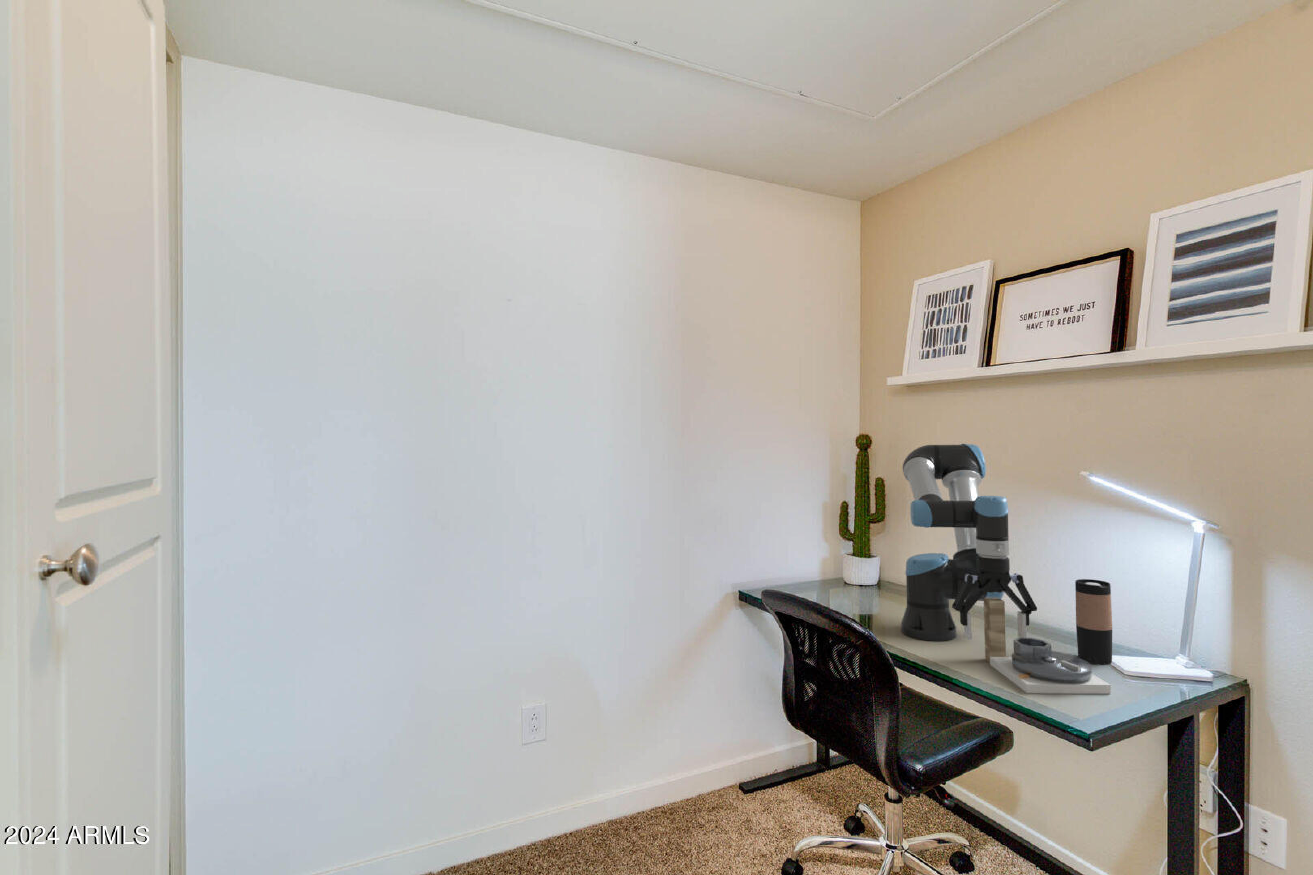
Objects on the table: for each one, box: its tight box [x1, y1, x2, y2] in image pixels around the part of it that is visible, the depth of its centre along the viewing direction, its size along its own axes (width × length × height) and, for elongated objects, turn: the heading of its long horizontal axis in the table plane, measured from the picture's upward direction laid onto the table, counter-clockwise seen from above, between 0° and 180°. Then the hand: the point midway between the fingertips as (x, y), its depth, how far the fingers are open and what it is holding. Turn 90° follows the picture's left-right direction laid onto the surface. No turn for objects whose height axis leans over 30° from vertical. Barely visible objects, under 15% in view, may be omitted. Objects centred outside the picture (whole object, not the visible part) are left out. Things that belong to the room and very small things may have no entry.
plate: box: [989, 656, 1112, 695], centre depth 148 cm, size 18×18×2 cm
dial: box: [1011, 637, 1093, 682], centre depth 147 cm, size 16×16×5 cm
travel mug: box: [1074, 578, 1113, 665], centre depth 159 cm, size 8×8×20 cm
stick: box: [983, 598, 1007, 663], centre depth 160 cm, size 4×4×16 cm
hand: (995, 638), depth 159 cm, fingers open, 13 cm apart
